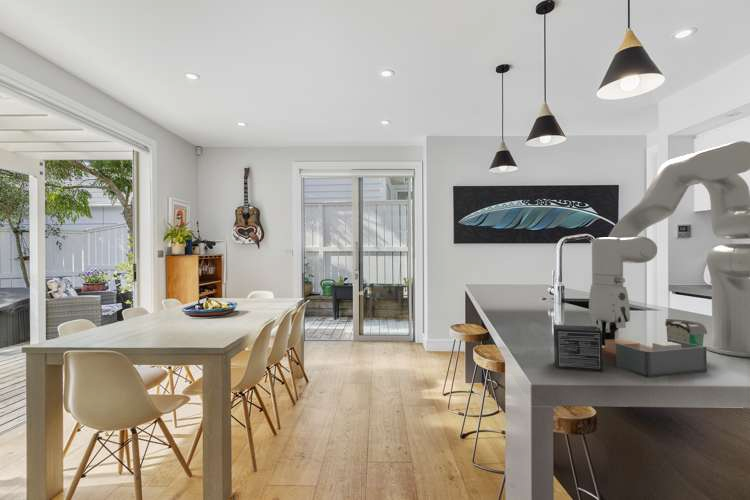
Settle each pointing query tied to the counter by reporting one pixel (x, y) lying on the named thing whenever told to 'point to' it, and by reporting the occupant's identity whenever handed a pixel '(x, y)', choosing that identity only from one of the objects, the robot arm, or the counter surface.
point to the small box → (578, 348)
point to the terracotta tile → (611, 343)
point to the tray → (662, 360)
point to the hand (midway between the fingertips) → (608, 345)
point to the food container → (685, 331)
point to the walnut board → (611, 357)
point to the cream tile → (665, 346)
